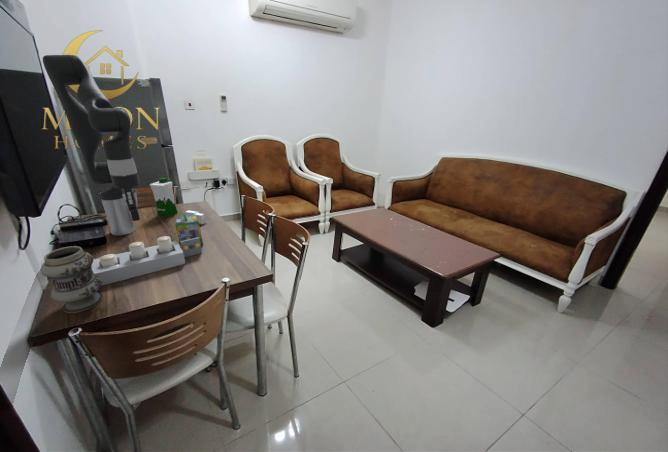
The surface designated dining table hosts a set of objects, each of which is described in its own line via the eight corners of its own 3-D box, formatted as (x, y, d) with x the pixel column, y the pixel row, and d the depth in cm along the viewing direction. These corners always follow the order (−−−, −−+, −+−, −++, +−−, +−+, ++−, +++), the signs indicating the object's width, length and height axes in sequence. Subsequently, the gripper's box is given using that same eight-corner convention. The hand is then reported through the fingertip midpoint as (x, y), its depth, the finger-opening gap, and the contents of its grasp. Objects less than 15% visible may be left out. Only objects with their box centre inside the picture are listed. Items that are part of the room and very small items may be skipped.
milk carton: (180, 212, 165) (173, 177, 157) (169, 218, 157) (161, 181, 149) (166, 211, 166) (158, 176, 158) (154, 216, 158) (146, 180, 150)
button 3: (158, 249, 114) (155, 237, 112) (171, 246, 117) (169, 235, 115) (160, 254, 111) (157, 242, 109) (173, 250, 113) (171, 239, 111)
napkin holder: (182, 220, 156) (180, 210, 154) (205, 216, 162) (203, 206, 159) (186, 229, 144) (184, 219, 142) (210, 225, 150) (208, 215, 148)
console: (96, 271, 107) (92, 259, 105) (179, 251, 123) (177, 240, 121) (95, 287, 99) (91, 274, 97) (185, 263, 114) (183, 252, 112)
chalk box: (203, 245, 129) (197, 214, 123) (180, 249, 125) (173, 217, 119) (201, 237, 136) (196, 207, 130) (180, 240, 132) (173, 210, 127)
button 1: (103, 268, 105) (99, 256, 103) (119, 264, 108) (115, 252, 106) (103, 274, 102) (99, 261, 100) (119, 270, 104) (115, 258, 102)
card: (183, 256, 119) (180, 241, 116) (201, 252, 123) (198, 237, 120) (184, 257, 118) (180, 242, 115) (202, 253, 122) (199, 238, 119)
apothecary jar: (72, 293, 95) (52, 244, 88) (113, 289, 98) (98, 241, 91) (48, 318, 84) (23, 264, 77) (96, 312, 87) (76, 260, 80)
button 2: (131, 255, 109) (128, 243, 107) (145, 252, 112) (142, 240, 110) (132, 260, 106) (128, 248, 104) (147, 257, 108) (143, 245, 106)
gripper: (110, 169, 100) (123, 216, 107) (109, 177, 90) (123, 228, 97) (136, 167, 104) (147, 212, 111) (137, 174, 94) (149, 224, 101)
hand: (136, 220), depth 104 cm, fingers closed
